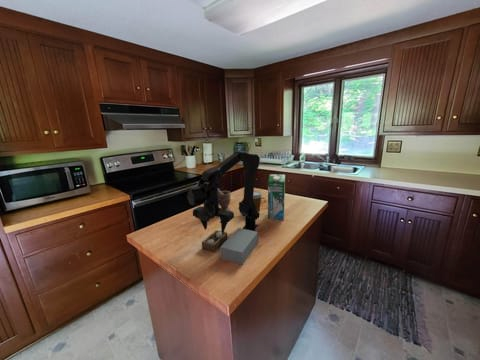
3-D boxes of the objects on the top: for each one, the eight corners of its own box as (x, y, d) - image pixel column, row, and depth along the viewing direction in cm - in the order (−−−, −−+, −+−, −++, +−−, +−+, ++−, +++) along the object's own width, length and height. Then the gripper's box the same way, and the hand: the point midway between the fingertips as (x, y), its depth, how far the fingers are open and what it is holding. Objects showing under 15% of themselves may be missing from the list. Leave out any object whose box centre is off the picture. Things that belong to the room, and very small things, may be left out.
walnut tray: (214, 252, 90) (214, 245, 89) (202, 249, 93) (201, 242, 92) (227, 239, 100) (227, 232, 99) (216, 236, 103) (215, 230, 102)
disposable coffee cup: (244, 211, 133) (243, 193, 130) (254, 206, 139) (253, 190, 136) (255, 215, 126) (255, 196, 123) (265, 210, 133) (265, 192, 130)
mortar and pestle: (220, 217, 125) (219, 185, 120) (211, 213, 130) (209, 183, 125) (234, 211, 133) (232, 181, 128) (224, 208, 139) (223, 179, 134)
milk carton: (267, 218, 121) (268, 177, 115) (269, 212, 129) (269, 173, 123) (283, 220, 119) (284, 177, 113) (284, 213, 127) (285, 174, 121)
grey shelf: (238, 238, 101) (238, 228, 99) (258, 242, 96) (257, 231, 95) (220, 258, 85) (220, 247, 84) (242, 264, 81) (242, 252, 80)
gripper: (183, 202, 88) (186, 235, 91) (221, 208, 80) (223, 244, 84) (198, 194, 97) (201, 224, 101) (233, 199, 89) (235, 231, 93)
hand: (214, 231), depth 95 cm, fingers open, 9 cm apart
